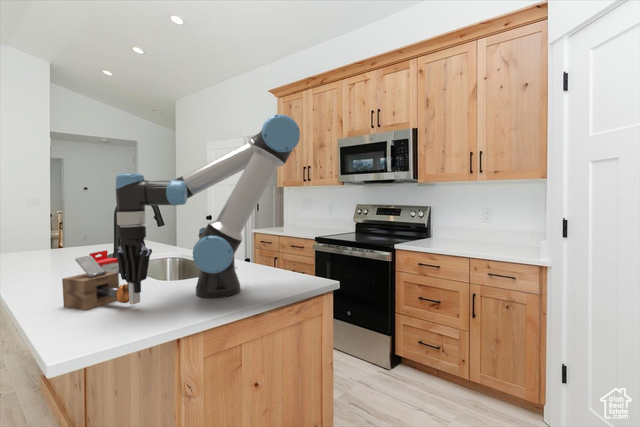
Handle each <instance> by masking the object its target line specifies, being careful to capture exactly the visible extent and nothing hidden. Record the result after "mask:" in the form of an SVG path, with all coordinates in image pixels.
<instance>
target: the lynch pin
mask: <svg viewBox="0 0 640 427" xmlns="http://www.w3.org/2000/svg"><path fill="white" fill-rule="evenodd" d="M96 292H97V294H98V295H102V296H110V297H116V300H117V302H118V303H121V304H128V303H129V292H128V285H127V283H123V284H120V285H119V288H113V287H104V286H100V287H98V288H97V290H96Z"/></svg>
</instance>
